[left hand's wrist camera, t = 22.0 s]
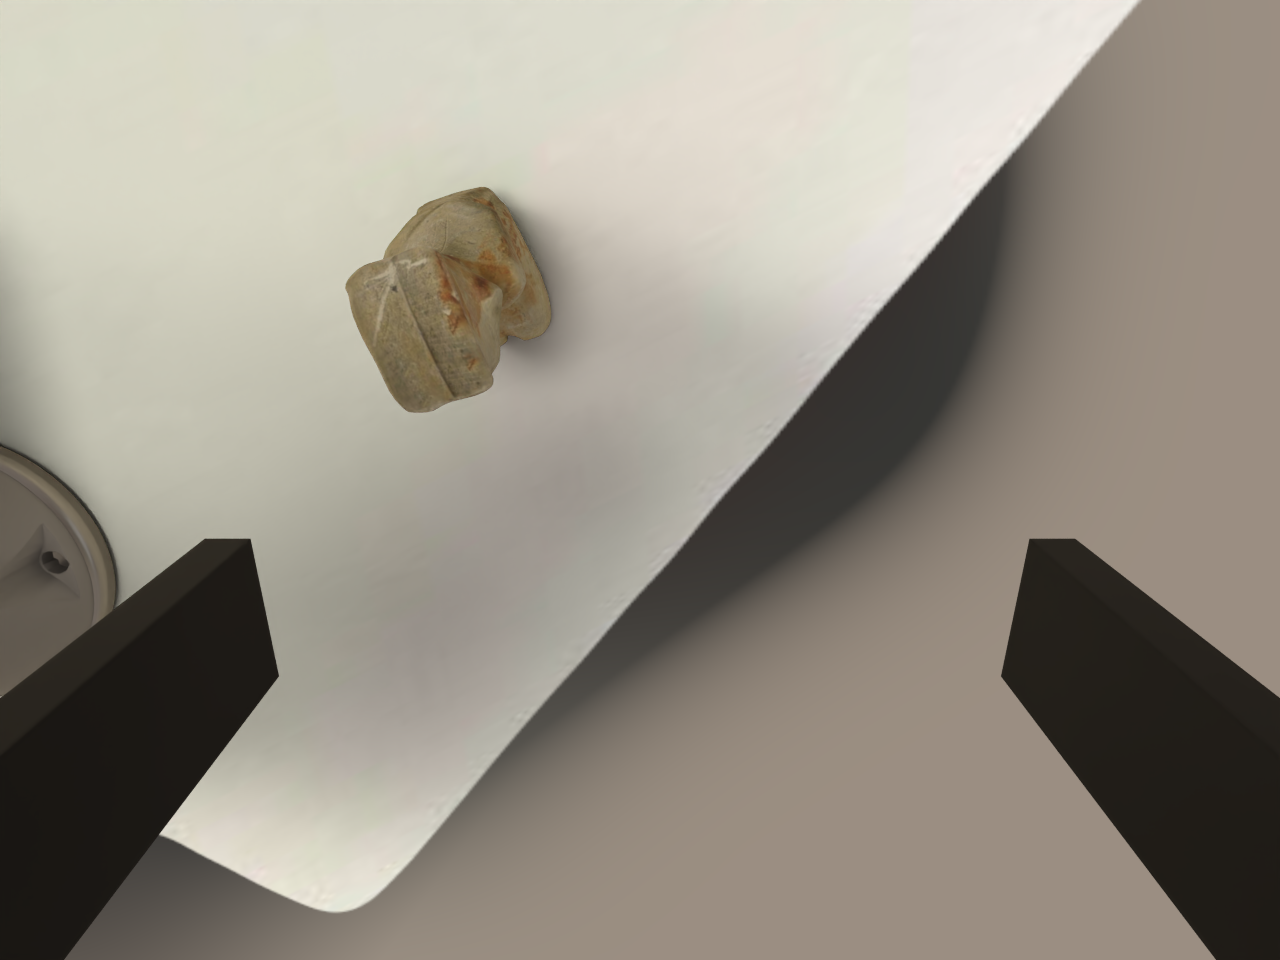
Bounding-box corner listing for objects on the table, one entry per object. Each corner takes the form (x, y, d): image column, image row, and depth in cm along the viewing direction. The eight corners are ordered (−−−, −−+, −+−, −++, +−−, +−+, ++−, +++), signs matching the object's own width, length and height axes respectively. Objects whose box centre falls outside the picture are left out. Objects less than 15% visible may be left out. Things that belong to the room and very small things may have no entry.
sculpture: (462, 353, 38) (358, 442, 24) (413, 208, 36) (266, 213, 22) (570, 325, 38) (529, 400, 23) (529, 177, 35) (455, 161, 21)
